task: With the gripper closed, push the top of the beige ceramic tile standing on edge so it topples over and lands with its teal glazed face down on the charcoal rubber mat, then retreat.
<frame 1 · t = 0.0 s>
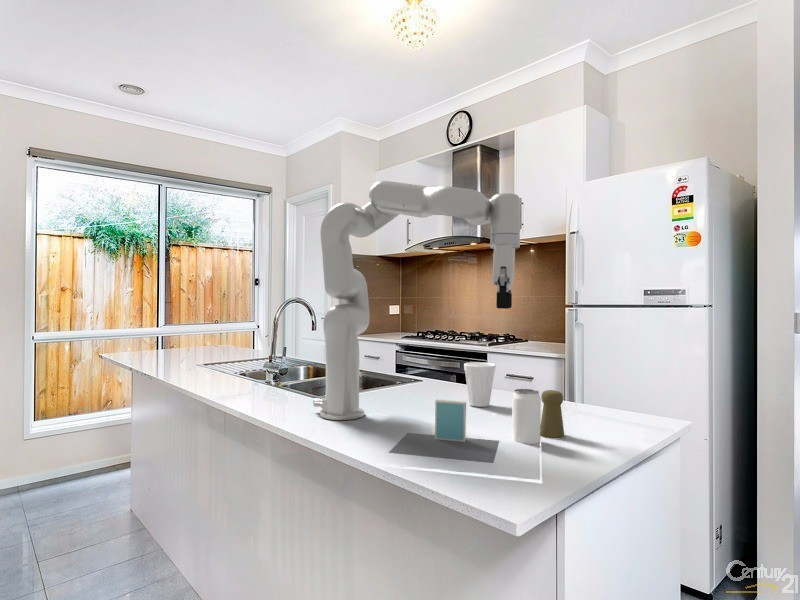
hand: (504, 308, 127), 31 cm above the countertop, tool pointing down, fingers open, 9 cm apart
cork: (551, 435, 121), on the countertop
mat: (446, 449, 109), on the countertop
tile: (450, 439, 114), point 1 cm above the countertop, touching mat
can: (526, 442, 115), on the countertop
cup: (479, 406, 154), on the countertop
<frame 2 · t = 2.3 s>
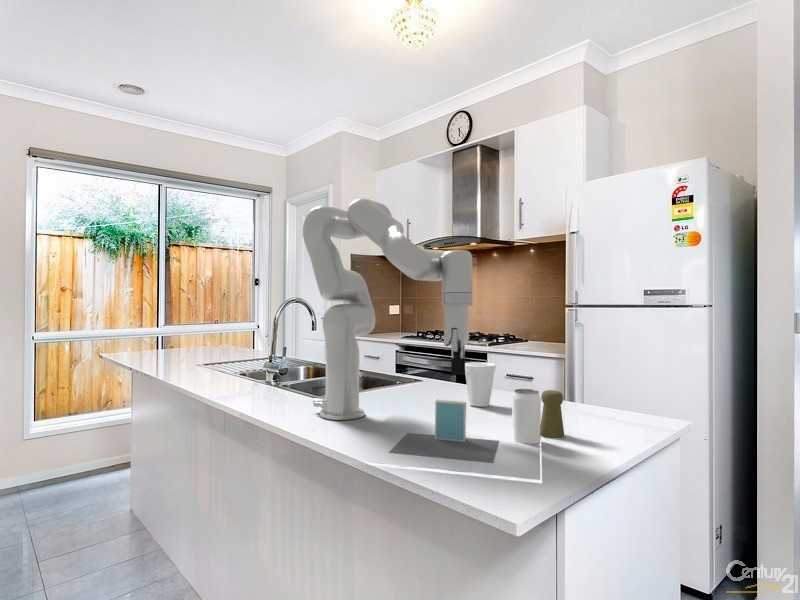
hand: (458, 374, 121), 15 cm above the countertop, tool pointing down, fingers closed
nothing on the countertop moved.
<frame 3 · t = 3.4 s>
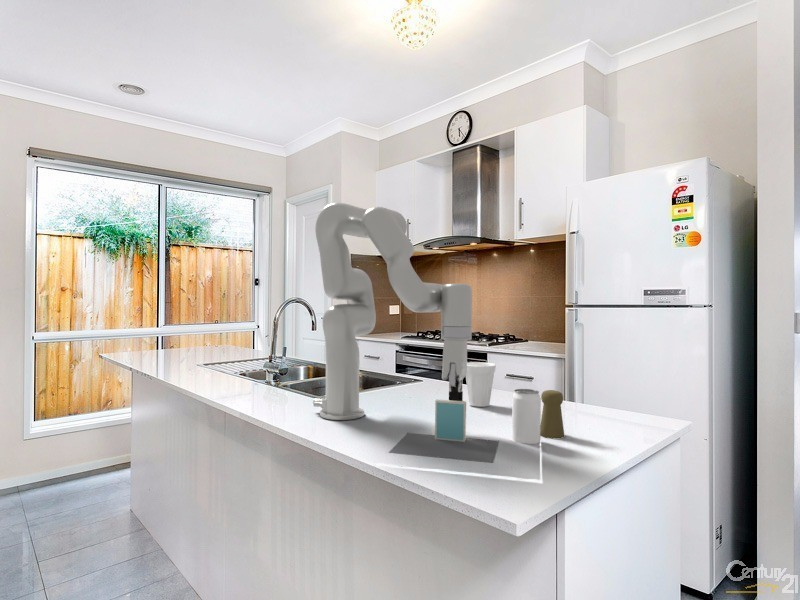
hand: (455, 407, 121), 7 cm above the countertop, tool pointing down, fingers closed
nothing on the countertop moved.
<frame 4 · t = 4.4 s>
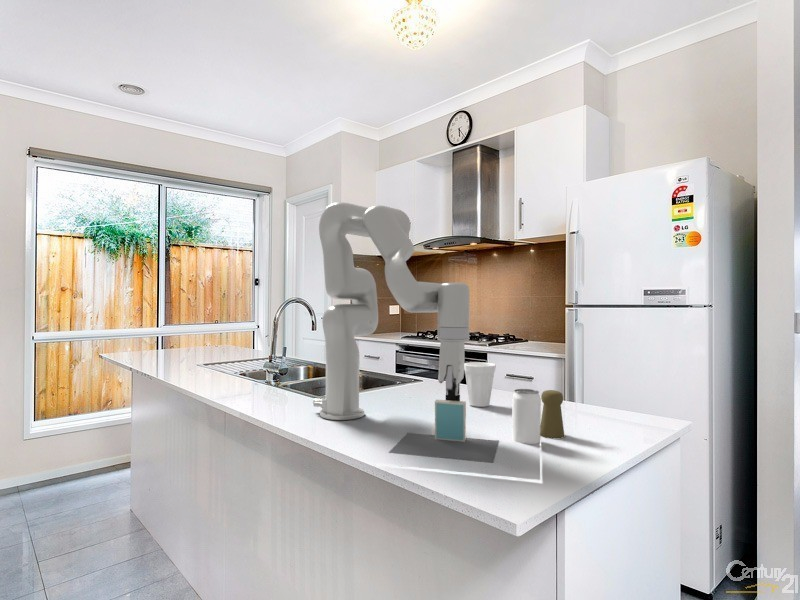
hand: (452, 411, 116), 7 cm above the countertop, tool pointing down, fingers closed
nothing on the countertop moved.
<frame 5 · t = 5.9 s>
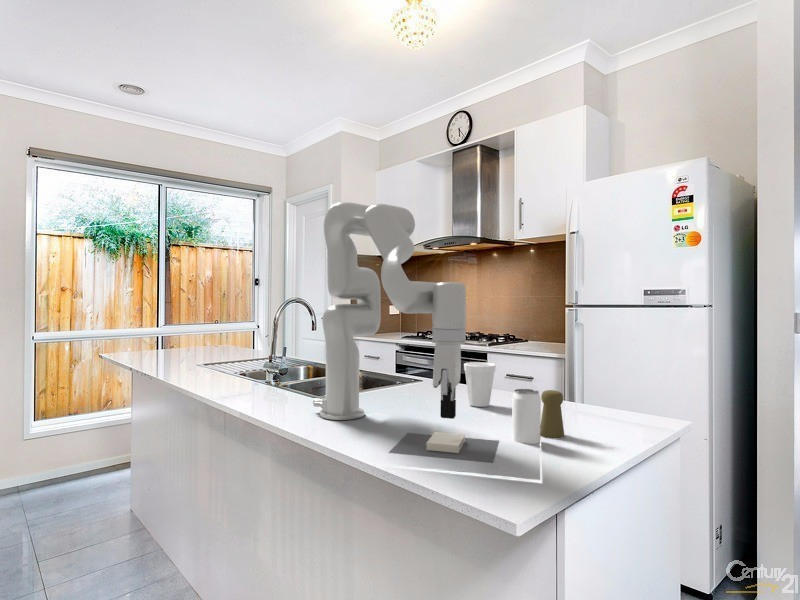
hand: (448, 417, 111), 7 cm above the countertop, tool pointing down, fingers closed
tile: (449, 436, 113), point 2 cm above the countertop, tilted 90°, touching mat
everything else where it was.
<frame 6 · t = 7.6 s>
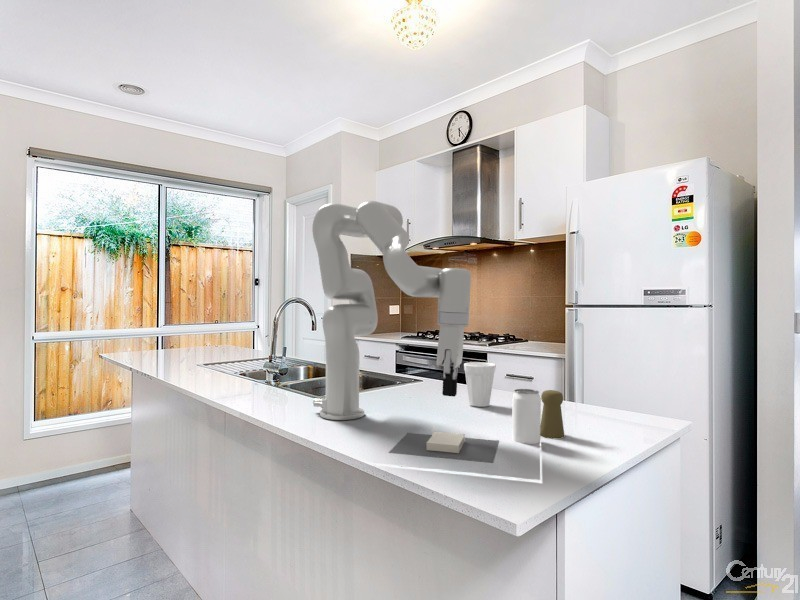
hand: (449, 395, 118), 10 cm above the countertop, tool pointing down, fingers closed
nothing on the countertop moved.
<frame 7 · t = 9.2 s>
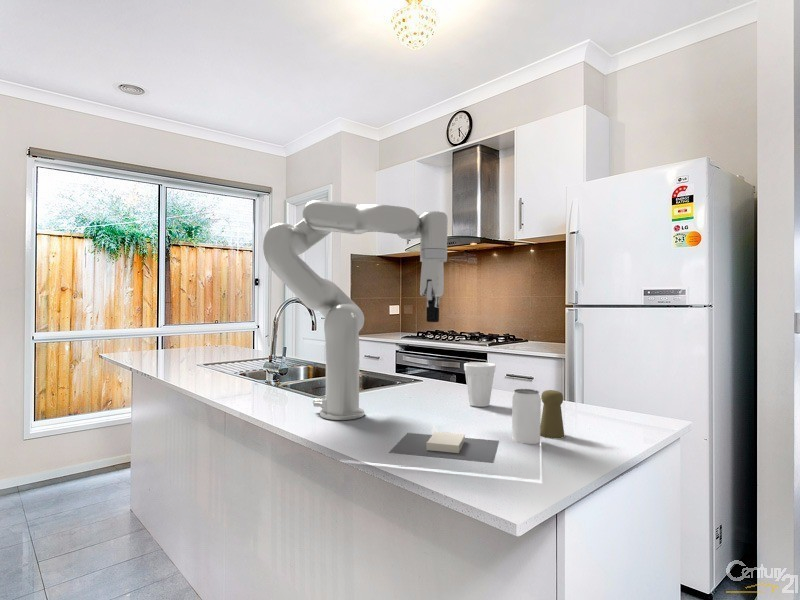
hand: (432, 321, 137), 27 cm above the countertop, tool pointing down, fingers closed
nothing on the countertop moved.
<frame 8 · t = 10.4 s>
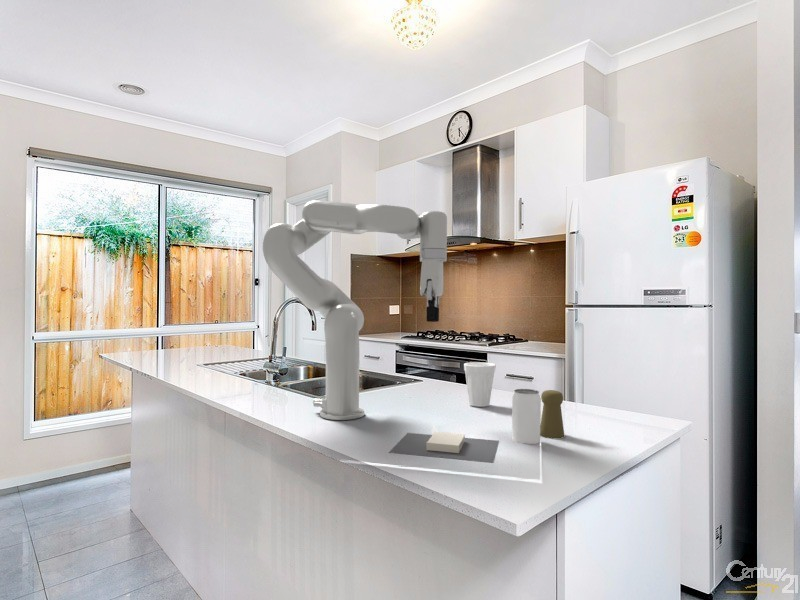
hand: (432, 321, 137), 27 cm above the countertop, tool pointing down, fingers closed
nothing on the countertop moved.
at the end: tile tilted 90°; tile inside the target area (4.6 cm from its centre), point 1.5 cm above the countertop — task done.
